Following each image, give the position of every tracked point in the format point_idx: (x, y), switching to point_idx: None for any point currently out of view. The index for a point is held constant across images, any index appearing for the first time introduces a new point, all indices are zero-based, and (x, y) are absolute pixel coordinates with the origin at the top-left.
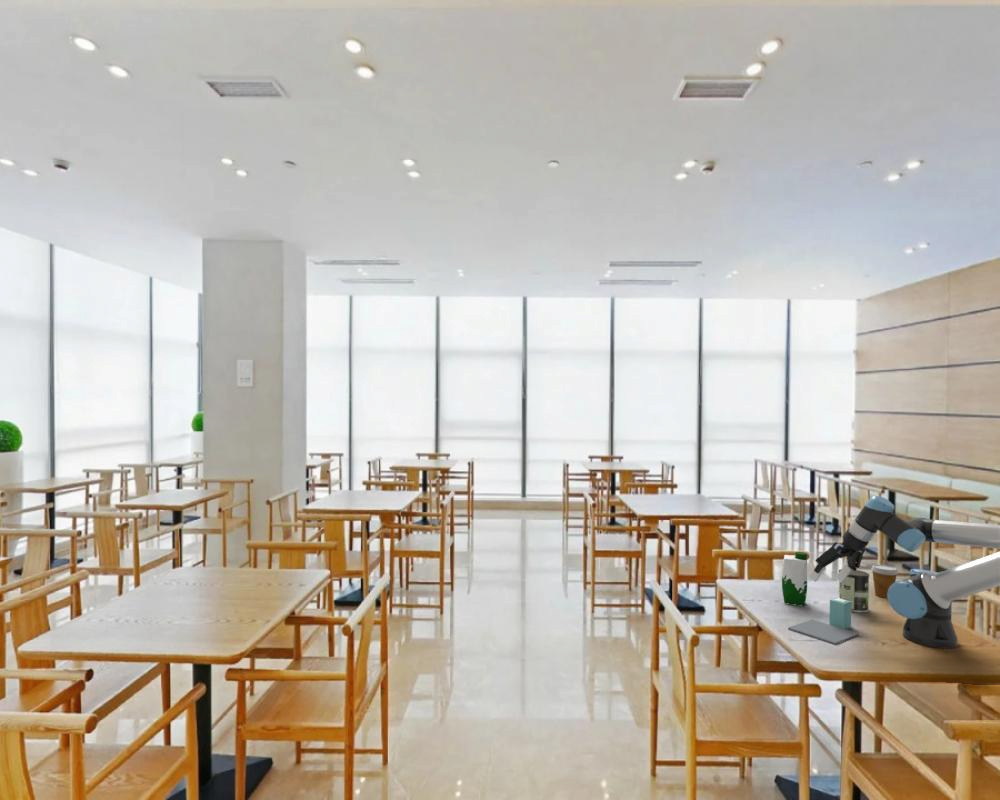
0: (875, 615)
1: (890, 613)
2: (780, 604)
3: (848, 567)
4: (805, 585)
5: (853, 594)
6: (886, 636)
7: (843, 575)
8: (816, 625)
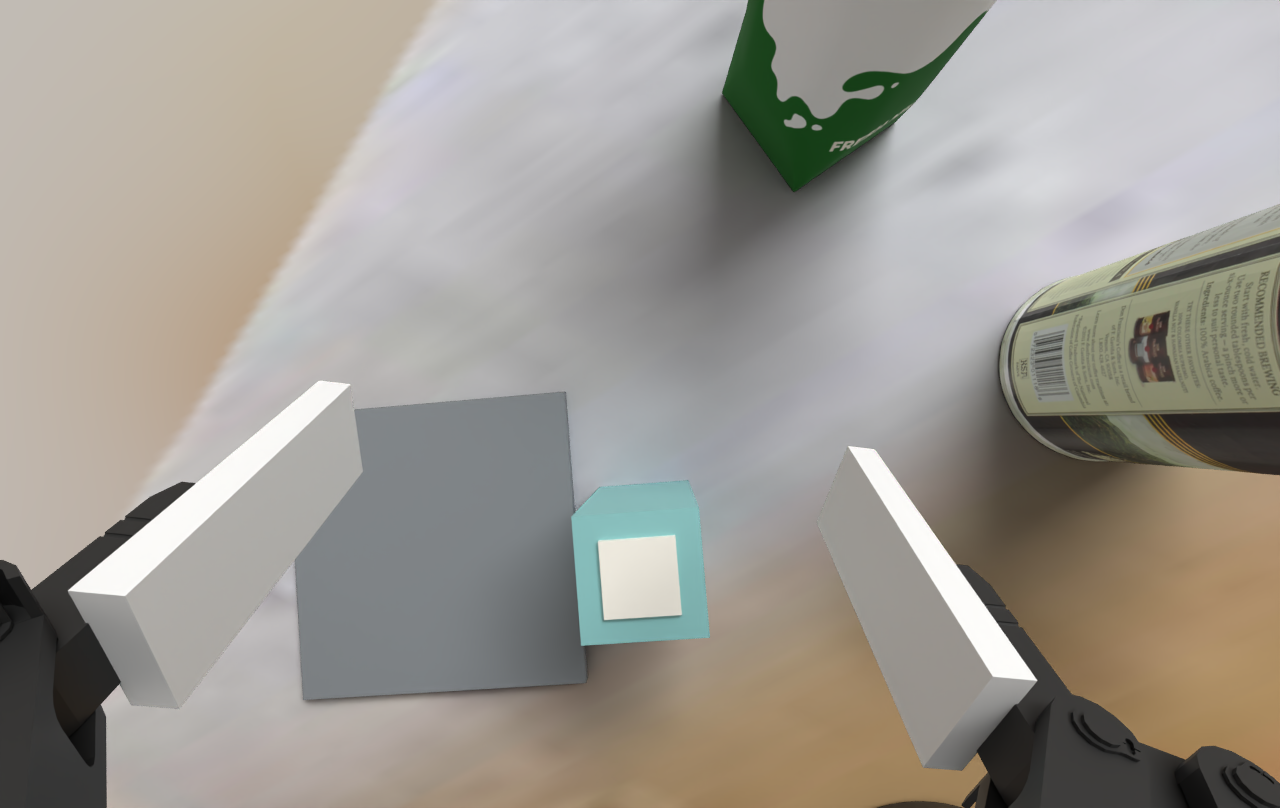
0: (1086, 526)
1: (1241, 553)
2: (679, 93)
3: (946, 733)
4: (863, 99)
5: (1118, 408)
6: (729, 773)
7: (861, 578)
8: (479, 475)
